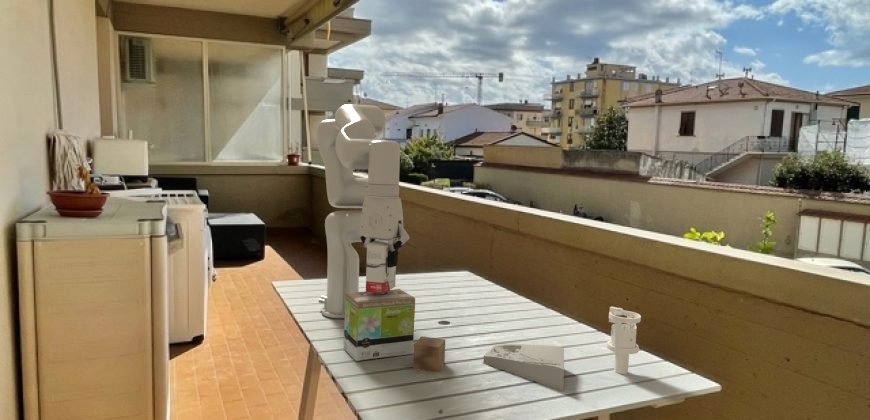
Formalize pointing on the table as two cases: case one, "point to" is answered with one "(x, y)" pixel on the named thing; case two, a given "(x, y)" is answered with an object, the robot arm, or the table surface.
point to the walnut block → (429, 354)
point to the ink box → (379, 268)
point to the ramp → (530, 362)
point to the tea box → (379, 324)
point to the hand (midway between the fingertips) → (381, 264)
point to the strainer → (623, 337)
